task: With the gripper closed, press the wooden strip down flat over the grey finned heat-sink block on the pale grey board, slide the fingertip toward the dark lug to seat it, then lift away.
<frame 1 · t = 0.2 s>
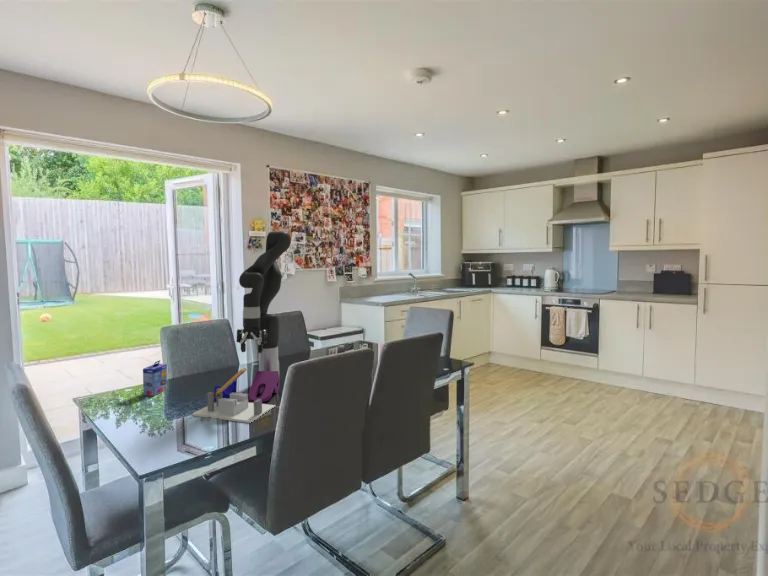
hand: (251, 352, 192), 18 cm above the table, tool pointing down, fingers open, 8 cm apart
wooden strip: (228, 383, 165), point 12 cm above the table, hinge at 40.0°
mounting bracket: (263, 397, 184), on the table
cable clip: (223, 397, 182), on the table, touching board
ink cartridge box: (155, 393, 191), on the table
board: (232, 412, 166), on the table
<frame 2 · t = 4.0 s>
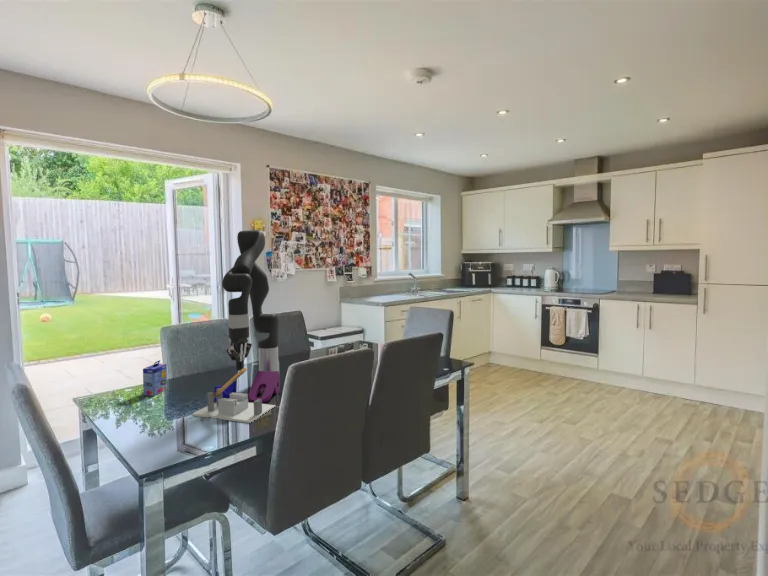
hand: (240, 370, 163), 17 cm above the table, tool pointing down, fingers closed
wooden strip: (228, 383, 165), point 12 cm above the table, hinge at 39.8°, touching gripper
everything else where it was.
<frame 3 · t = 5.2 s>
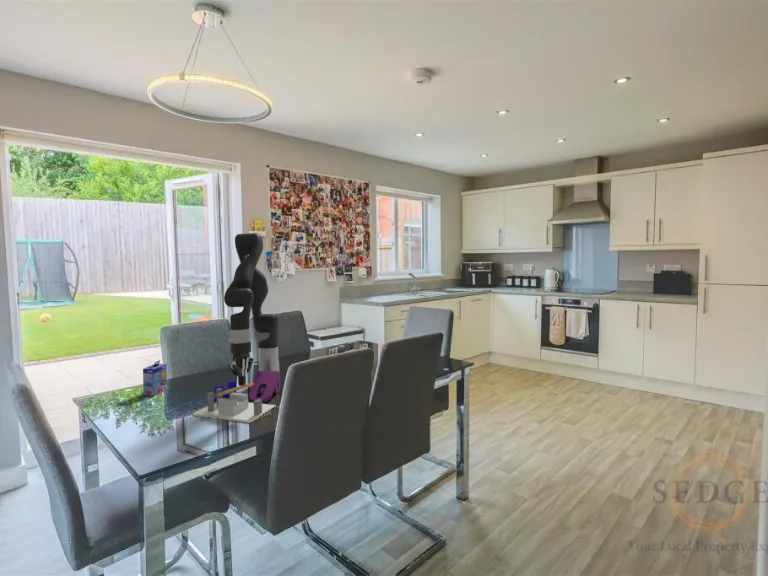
hand: (242, 385, 163), 12 cm above the table, tool pointing down, fingers closed
wooden strip: (232, 390, 165), point 9 cm above the table, hinge at 20.0°, touching gripper
everything else where it was.
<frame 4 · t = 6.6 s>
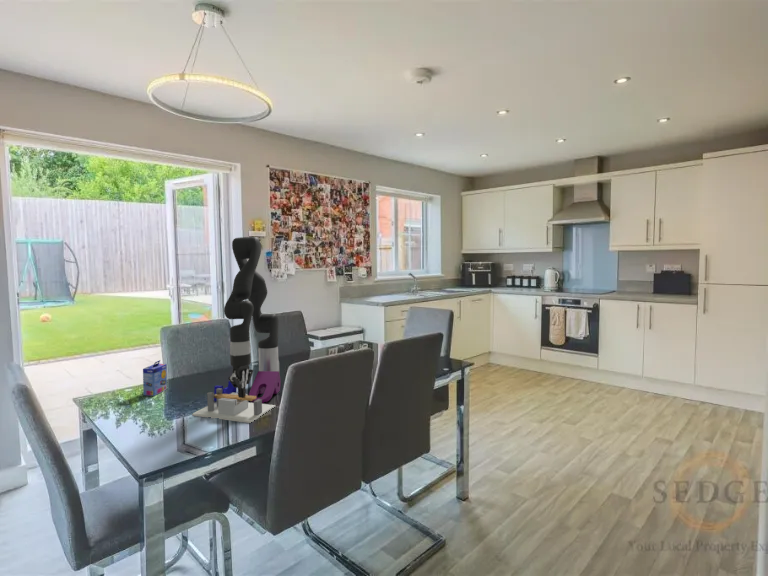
hand: (242, 396, 163), 7 cm above the table, tool pointing down, fingers closed
wooden strip: (233, 396, 165), point 6 cm above the table, hinge at 2.1°, touching gripper
everything else where it was.
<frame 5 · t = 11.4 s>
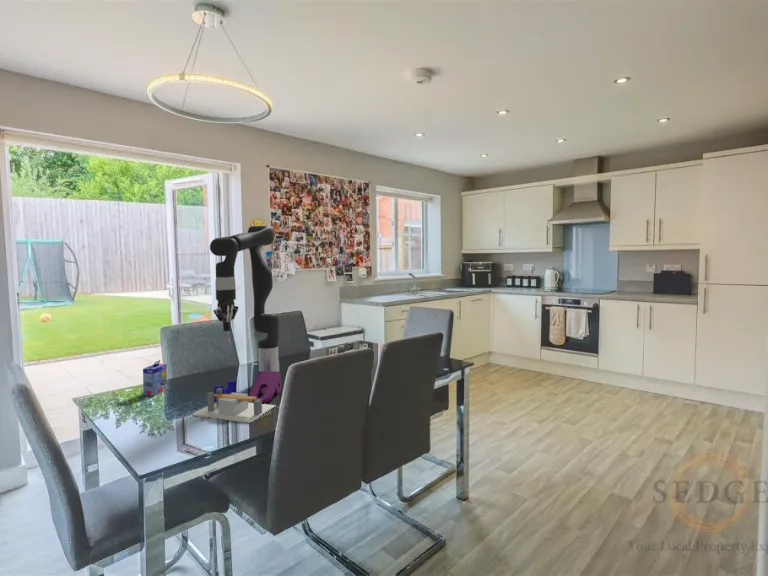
hand: (227, 330, 171), 31 cm above the table, tool pointing down, fingers closed
wooden strip: (233, 397, 165), point 6 cm above the table, hinge at 1.0°
everything else where it was.
at the end: wooden strip at +1° (first picture: +40°); the gripper is holding nothing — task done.
